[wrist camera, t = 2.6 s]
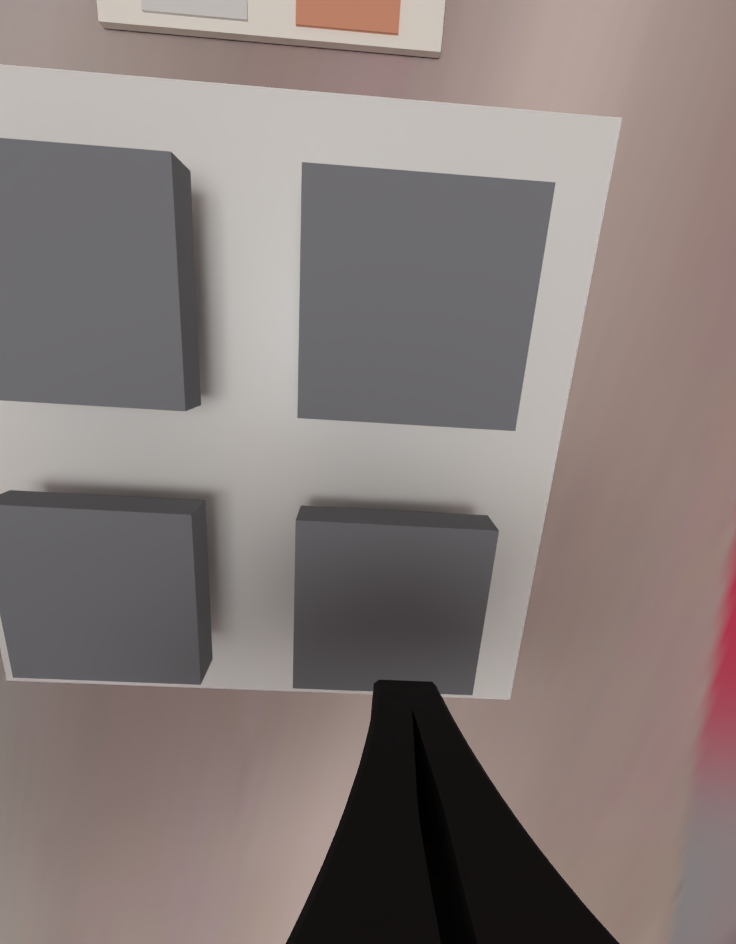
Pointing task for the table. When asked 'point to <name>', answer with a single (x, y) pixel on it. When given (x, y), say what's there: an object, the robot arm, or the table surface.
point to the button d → (417, 295)
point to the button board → (277, 345)
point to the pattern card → (291, 22)
